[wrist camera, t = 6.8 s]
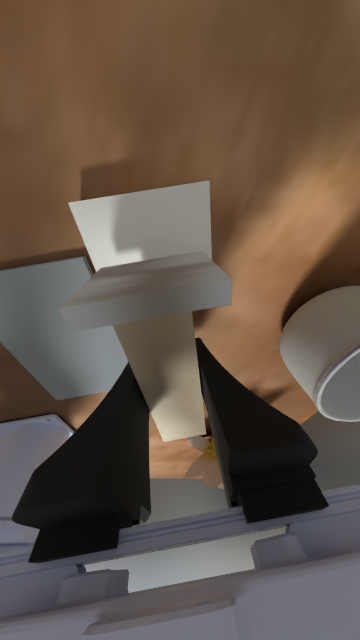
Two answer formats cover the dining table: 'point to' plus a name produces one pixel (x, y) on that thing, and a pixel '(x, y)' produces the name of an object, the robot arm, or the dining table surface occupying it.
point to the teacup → (327, 351)
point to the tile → (145, 224)
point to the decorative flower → (205, 462)
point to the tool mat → (56, 330)
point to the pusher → (156, 328)
